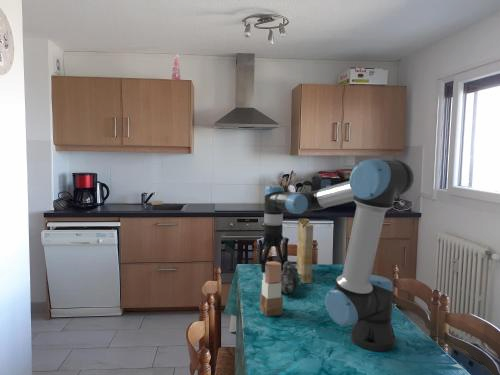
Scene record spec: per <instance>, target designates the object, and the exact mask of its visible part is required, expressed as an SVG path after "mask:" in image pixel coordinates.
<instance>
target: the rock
mask: <svg viewBox="0 0 500 375" xmlns="http://www.w3.org/2000/svg"><path fill="white" fill-rule="evenodd" d="M297 272H298V269H297V267H296V266H295V265H294V264H293V263H290V260H288V261H287V262H285V263H284V264H283V271H281V293H282V294H285V295H286V294H289V293H291V292H293V291H294V288H296V287H297V286H299V284H300V282H301V279H300V277H299V276H300V274H299V273H297Z"/></svg>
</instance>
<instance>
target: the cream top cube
mask: <svg viewBox="0 0 500 375" xmlns="http://www.w3.org/2000/svg"><path fill="white" fill-rule="evenodd" d="M261 294H262V295H263V296H265V297H266V298H267V299H273V298H281V297H282V291H281V282H273V283H268V282H266V281H264V280H263V279H262V280H261Z"/></svg>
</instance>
